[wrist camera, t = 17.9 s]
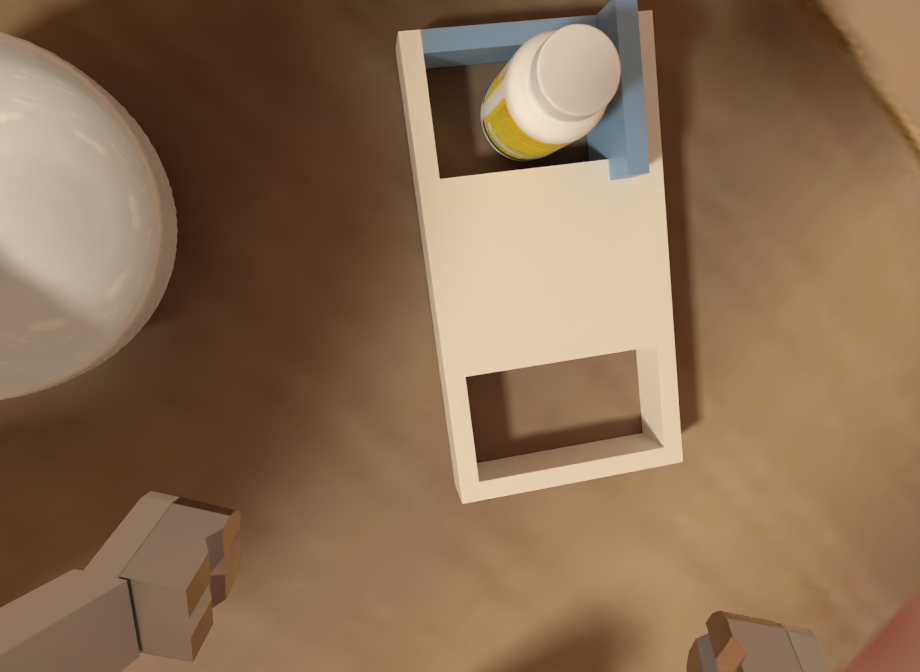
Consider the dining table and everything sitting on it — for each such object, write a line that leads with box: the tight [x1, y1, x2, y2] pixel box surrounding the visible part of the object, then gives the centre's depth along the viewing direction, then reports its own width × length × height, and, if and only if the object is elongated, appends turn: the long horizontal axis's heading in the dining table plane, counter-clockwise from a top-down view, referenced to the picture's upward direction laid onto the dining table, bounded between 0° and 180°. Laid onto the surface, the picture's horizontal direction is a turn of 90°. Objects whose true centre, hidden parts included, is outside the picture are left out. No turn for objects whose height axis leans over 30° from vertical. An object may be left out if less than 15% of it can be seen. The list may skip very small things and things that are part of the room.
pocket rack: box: [395, 0, 683, 504], centre depth 35 cm, size 14×27×6 cm, turn 7°
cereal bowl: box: [0, 31, 178, 400], centre depth 30 cm, size 17×17×7 cm
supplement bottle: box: [481, 24, 621, 161], centre depth 31 cm, size 5×5×10 cm
